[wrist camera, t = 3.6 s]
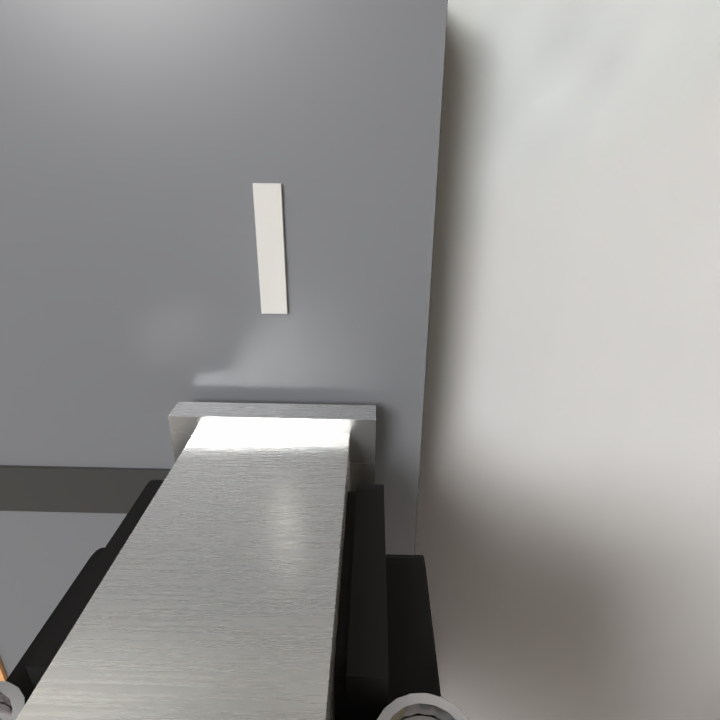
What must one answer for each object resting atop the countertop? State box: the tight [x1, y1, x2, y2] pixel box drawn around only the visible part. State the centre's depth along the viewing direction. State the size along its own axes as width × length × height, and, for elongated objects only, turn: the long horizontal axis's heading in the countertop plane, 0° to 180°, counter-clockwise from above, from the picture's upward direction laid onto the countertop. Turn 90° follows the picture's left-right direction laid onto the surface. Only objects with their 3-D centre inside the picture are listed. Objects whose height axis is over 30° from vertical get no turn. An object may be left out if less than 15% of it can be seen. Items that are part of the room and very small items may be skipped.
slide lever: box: [16, 402, 376, 720], centre depth 8 cm, size 4×5×8 cm
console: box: [0, 0, 448, 681], centre depth 13 cm, size 15×20×3 cm
